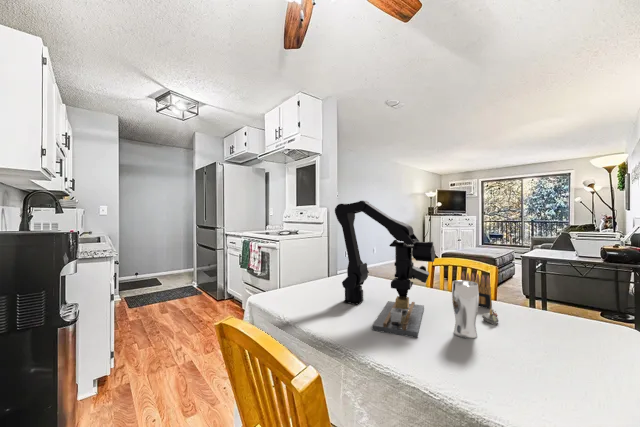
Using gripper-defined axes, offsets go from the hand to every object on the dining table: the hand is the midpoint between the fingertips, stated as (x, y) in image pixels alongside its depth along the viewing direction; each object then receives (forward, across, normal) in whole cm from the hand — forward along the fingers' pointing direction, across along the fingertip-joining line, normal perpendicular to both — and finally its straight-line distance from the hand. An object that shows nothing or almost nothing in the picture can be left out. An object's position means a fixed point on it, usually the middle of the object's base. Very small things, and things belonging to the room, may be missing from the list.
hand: (403, 302), depth 102 cm
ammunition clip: (+3, +17, -24) cm, 30 cm away
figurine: (+3, 0, -27) cm, 27 cm away
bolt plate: (+3, -8, 0) cm, 9 cm away
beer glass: (+3, -13, -19) cm, 23 cm away
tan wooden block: (+1, -4, 0) cm, 4 cm away
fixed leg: (+2, -17, 0) cm, 17 cm away
